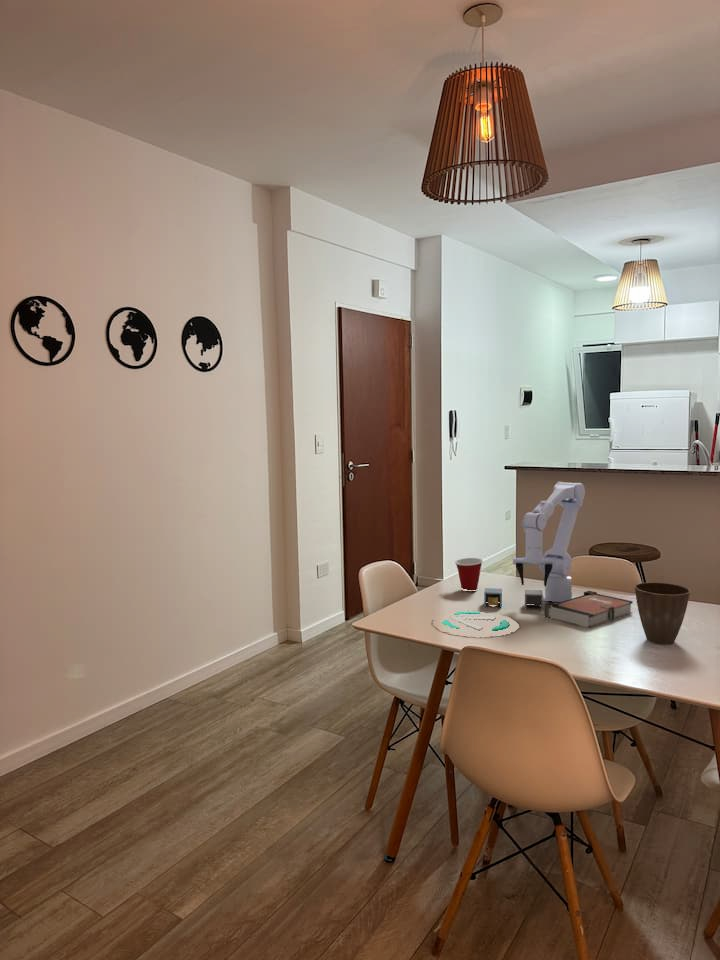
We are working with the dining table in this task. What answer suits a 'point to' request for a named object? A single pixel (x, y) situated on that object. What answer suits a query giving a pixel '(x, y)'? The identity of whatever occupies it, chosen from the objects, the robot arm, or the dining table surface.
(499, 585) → the dining table surface
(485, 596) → the cover
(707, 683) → the dining table surface
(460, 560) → the plastic cup
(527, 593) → the cover
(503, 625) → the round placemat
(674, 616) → the plant pot
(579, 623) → the book
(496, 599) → the cube
